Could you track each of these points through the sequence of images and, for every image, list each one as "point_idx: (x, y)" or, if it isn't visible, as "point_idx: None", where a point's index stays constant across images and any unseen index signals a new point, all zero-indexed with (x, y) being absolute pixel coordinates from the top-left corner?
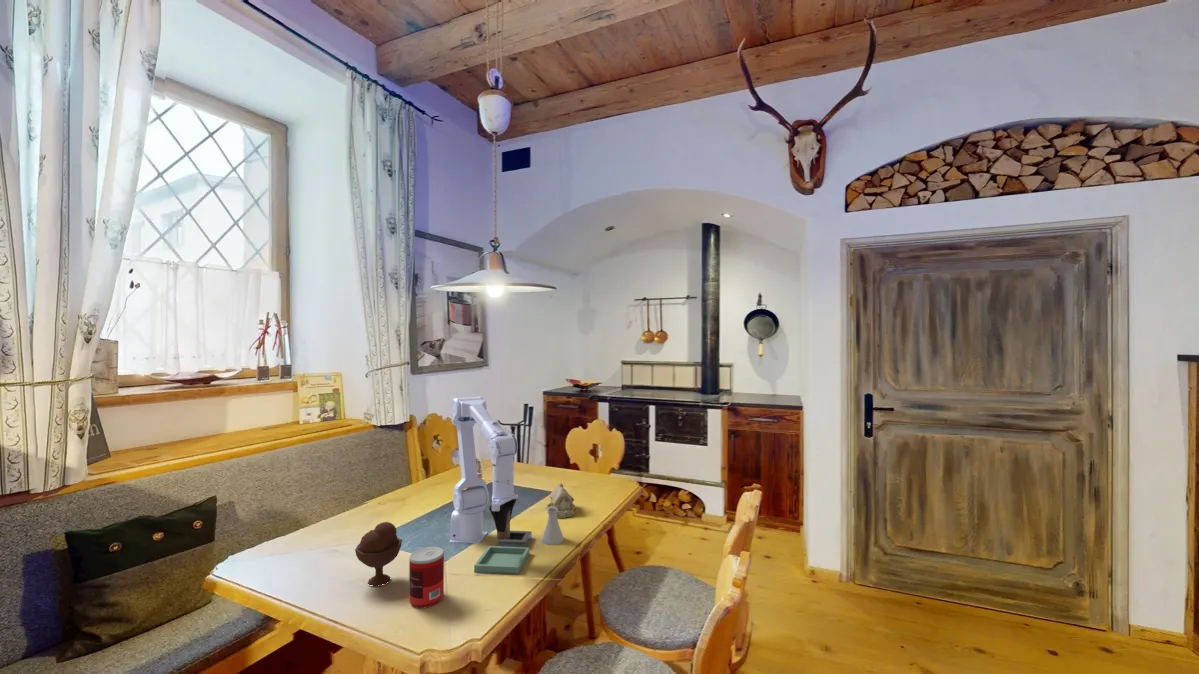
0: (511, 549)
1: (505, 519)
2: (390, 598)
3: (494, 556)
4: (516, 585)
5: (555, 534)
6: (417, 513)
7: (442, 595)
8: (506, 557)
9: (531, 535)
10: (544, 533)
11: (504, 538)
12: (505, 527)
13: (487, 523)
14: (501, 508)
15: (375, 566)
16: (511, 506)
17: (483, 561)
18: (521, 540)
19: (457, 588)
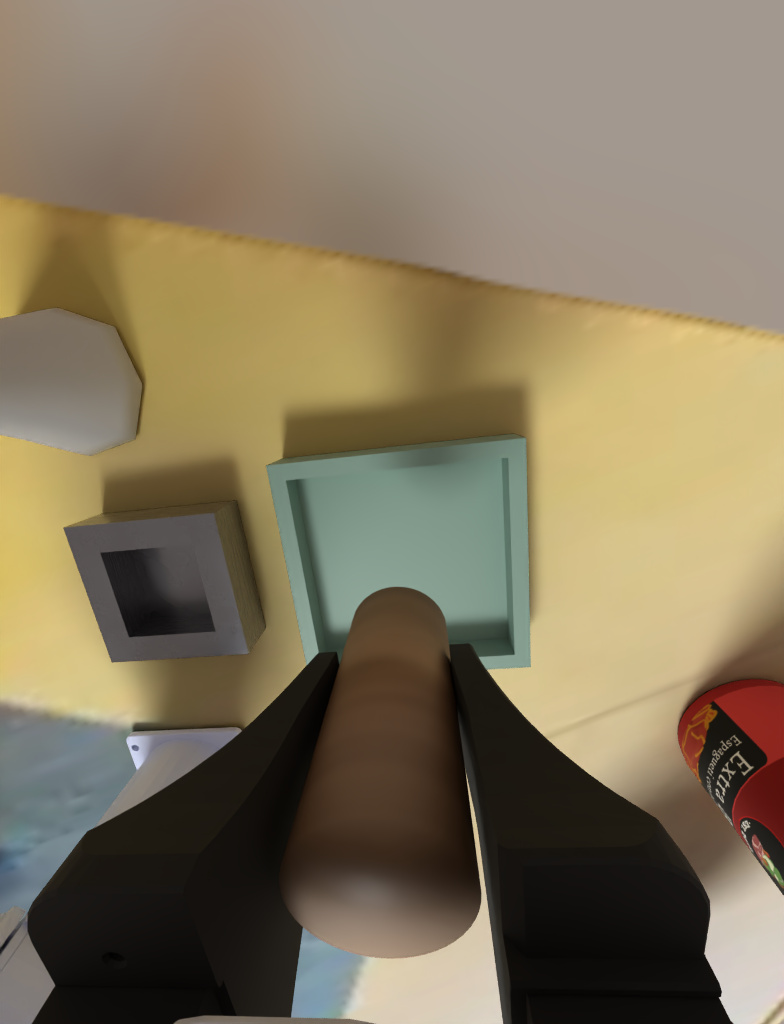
0: (303, 560)
1: (530, 725)
2: (729, 835)
3: None
4: (610, 408)
5: (54, 345)
6: None
7: (761, 687)
8: (359, 559)
9: (85, 520)
10: (67, 431)
11: (439, 612)
12: (470, 659)
13: (32, 766)
14: (720, 993)
15: None
16: (255, 810)
17: None
18: (199, 542)
19: (650, 657)
